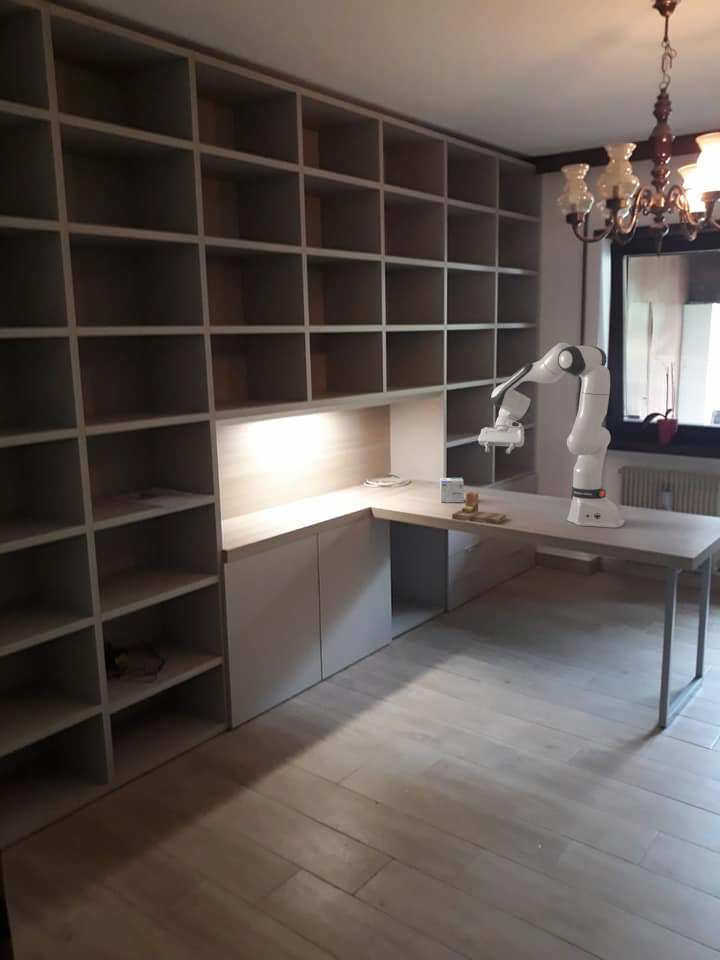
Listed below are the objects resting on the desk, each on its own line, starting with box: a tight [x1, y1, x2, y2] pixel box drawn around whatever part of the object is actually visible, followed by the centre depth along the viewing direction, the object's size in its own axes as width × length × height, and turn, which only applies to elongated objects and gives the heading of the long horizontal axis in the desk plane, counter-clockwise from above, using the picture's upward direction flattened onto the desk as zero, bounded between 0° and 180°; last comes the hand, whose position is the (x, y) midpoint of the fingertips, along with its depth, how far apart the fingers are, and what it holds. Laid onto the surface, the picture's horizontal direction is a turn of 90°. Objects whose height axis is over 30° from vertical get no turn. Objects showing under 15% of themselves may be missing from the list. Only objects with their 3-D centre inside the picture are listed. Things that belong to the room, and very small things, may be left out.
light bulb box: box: [439, 477, 465, 504], centre depth 358 cm, size 11×7×11 cm, turn 89°
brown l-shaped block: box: [461, 491, 479, 513], centre depth 332 cm, size 4×10×9 cm, turn 151°
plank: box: [451, 509, 507, 525], centre depth 326 cm, size 20×10×2 cm, turn 61°
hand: (497, 452), depth 342 cm, fingers open, 8 cm apart
